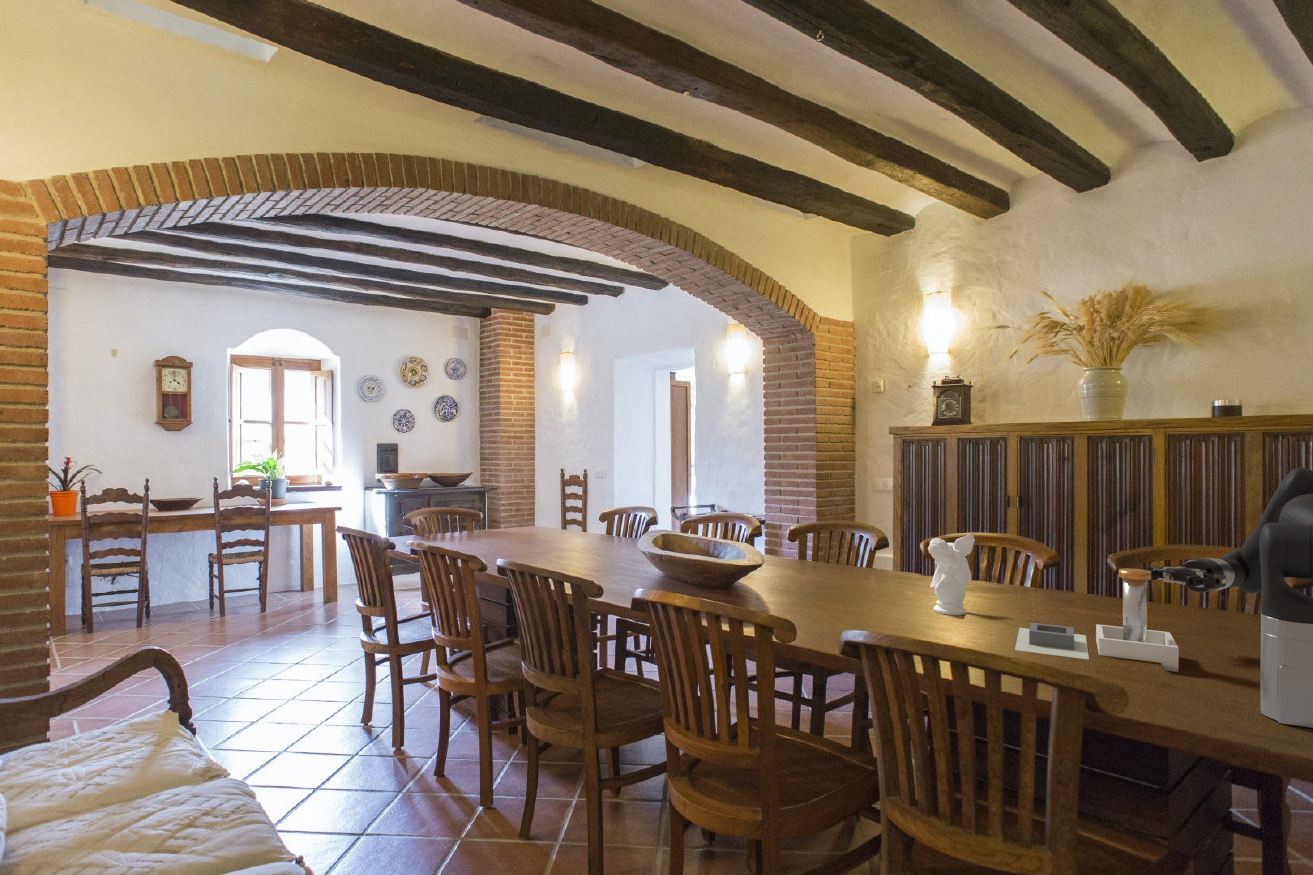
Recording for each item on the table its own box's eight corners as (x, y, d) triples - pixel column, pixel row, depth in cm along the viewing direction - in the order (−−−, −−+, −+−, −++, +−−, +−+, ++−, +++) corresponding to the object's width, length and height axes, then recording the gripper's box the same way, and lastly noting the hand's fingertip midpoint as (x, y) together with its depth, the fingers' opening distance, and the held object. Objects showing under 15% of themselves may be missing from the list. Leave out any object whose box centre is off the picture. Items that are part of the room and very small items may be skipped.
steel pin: (1152, 658, 157) (1152, 574, 157) (1119, 654, 160) (1119, 571, 160) (1149, 651, 163) (1149, 569, 163) (1117, 648, 166) (1117, 567, 166)
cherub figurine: (929, 614, 201) (928, 533, 202) (927, 604, 213) (926, 528, 213) (977, 617, 198) (976, 534, 198) (973, 607, 209) (972, 529, 210)
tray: (1178, 671, 152) (1178, 647, 152) (1098, 661, 159) (1099, 638, 159) (1169, 654, 164) (1169, 632, 164) (1096, 645, 171) (1096, 624, 171)
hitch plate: (1088, 666, 155) (1089, 645, 155) (1014, 656, 162) (1014, 636, 162) (1085, 641, 174) (1085, 622, 174) (1019, 633, 181) (1019, 615, 181)
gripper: (1174, 554, 179) (1134, 557, 172) (1242, 562, 166) (1202, 566, 159) (1174, 585, 179) (1133, 589, 171) (1242, 596, 166) (1201, 601, 159)
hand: (1166, 578), depth 165 cm, fingers open, 8 cm apart
